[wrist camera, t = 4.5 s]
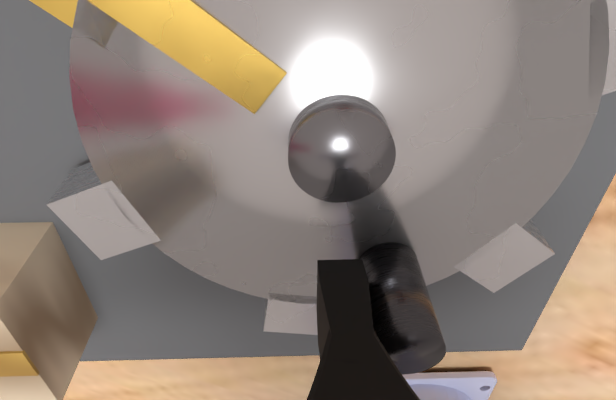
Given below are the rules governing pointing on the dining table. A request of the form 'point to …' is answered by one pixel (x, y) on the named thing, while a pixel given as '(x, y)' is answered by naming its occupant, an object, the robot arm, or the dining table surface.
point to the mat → (210, 295)
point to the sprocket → (332, 141)
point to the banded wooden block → (39, 313)
